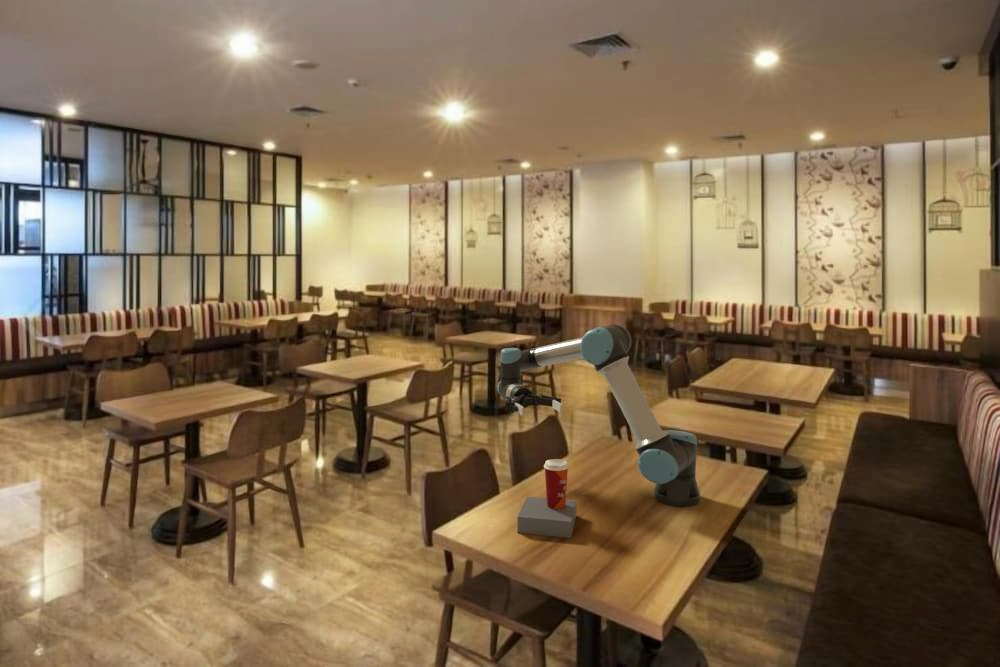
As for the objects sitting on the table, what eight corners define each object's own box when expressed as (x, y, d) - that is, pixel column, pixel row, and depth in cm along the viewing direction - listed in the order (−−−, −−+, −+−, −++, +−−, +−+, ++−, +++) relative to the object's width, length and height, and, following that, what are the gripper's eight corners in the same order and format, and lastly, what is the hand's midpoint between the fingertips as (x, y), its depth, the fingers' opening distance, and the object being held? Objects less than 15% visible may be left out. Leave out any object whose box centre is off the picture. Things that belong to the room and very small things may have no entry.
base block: (576, 515, 200) (576, 500, 200) (571, 537, 185) (571, 521, 184) (526, 511, 204) (526, 496, 203) (517, 532, 188) (517, 516, 188)
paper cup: (567, 511, 191) (567, 467, 189) (542, 509, 193) (542, 465, 191) (569, 501, 199) (570, 458, 197) (545, 500, 200) (545, 457, 199)
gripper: (551, 403, 230) (576, 418, 210) (486, 408, 222) (506, 424, 202) (551, 383, 229) (577, 396, 209) (486, 388, 221) (506, 401, 201)
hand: (542, 410), depth 206 cm, fingers open, 13 cm apart
